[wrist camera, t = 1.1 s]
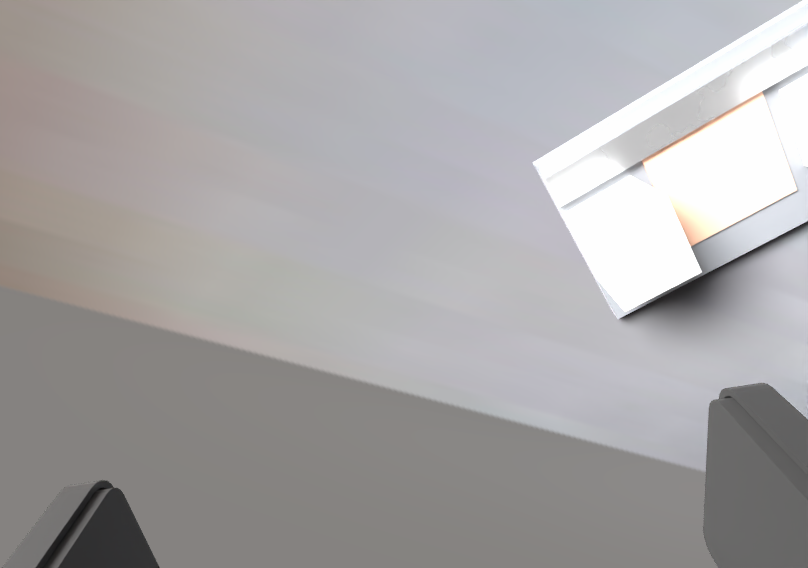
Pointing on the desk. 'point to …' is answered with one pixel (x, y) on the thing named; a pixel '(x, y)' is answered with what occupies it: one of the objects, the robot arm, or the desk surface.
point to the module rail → (691, 168)
